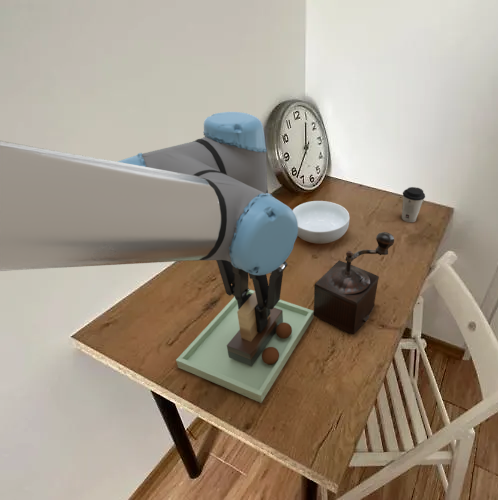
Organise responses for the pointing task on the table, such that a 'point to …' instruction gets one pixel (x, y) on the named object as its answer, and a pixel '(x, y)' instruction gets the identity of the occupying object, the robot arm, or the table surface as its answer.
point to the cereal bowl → (321, 221)
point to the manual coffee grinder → (349, 290)
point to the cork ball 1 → (270, 355)
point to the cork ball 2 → (283, 330)
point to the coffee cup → (412, 203)
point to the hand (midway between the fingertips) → (255, 325)
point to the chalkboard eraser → (252, 333)
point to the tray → (232, 371)
